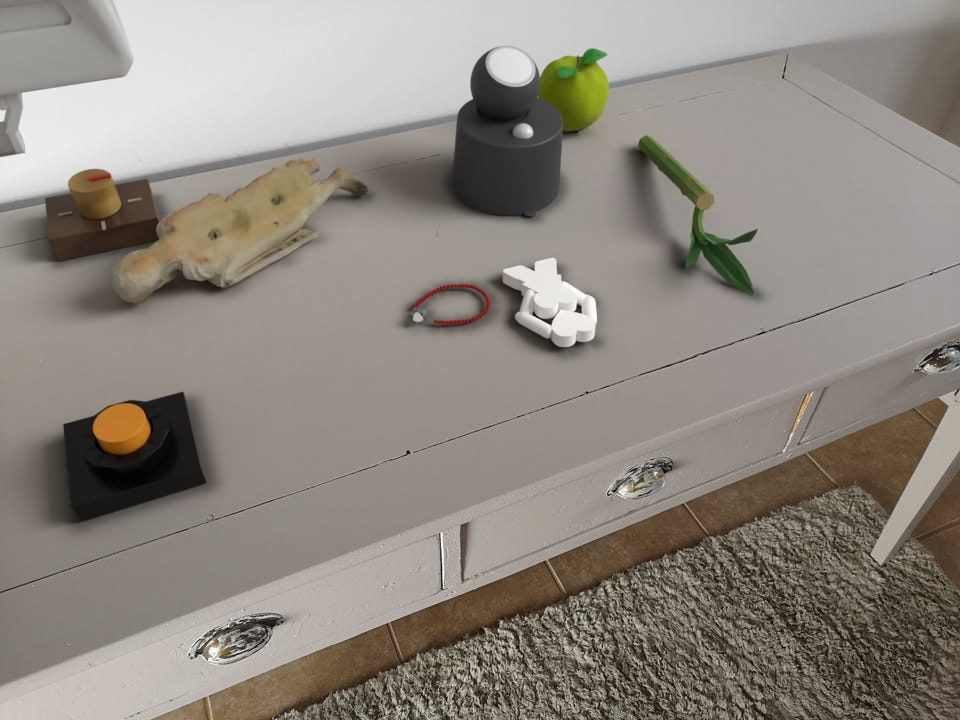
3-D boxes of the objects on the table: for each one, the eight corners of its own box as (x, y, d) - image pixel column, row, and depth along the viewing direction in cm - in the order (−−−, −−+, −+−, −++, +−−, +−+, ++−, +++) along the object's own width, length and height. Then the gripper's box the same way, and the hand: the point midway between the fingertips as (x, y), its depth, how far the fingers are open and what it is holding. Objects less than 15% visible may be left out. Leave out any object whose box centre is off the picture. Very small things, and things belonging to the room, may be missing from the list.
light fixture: (486, 103, 78) (435, 42, 87) (480, 230, 90) (436, 165, 99) (601, 81, 82) (541, 25, 91) (581, 206, 94) (530, 145, 103)
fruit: (616, 128, 107) (629, 58, 99) (568, 151, 102) (578, 79, 95) (569, 101, 111) (578, 32, 104) (521, 122, 107) (527, 51, 100)
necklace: (417, 335, 78) (417, 328, 77) (401, 297, 82) (400, 289, 81) (498, 317, 80) (498, 310, 79) (478, 280, 84) (479, 273, 83)
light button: (102, 461, 62) (95, 448, 61) (97, 424, 65) (90, 411, 63) (154, 446, 63) (148, 433, 62) (147, 410, 66) (141, 397, 65)
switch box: (80, 522, 62) (62, 495, 59) (71, 439, 68) (54, 410, 65) (207, 483, 65) (195, 455, 62) (189, 406, 71) (178, 377, 68)
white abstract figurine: (538, 355, 76) (539, 338, 75) (491, 288, 84) (491, 272, 83) (617, 333, 79) (620, 316, 77) (564, 270, 87) (565, 254, 86)
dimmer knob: (80, 222, 84) (67, 193, 81) (77, 199, 86) (65, 170, 84) (123, 214, 85) (112, 185, 82) (119, 192, 88) (109, 163, 85)
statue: (315, 150, 95) (104, 294, 82) (317, 109, 89) (89, 258, 75) (375, 204, 94) (171, 359, 80) (382, 167, 87) (161, 328, 74)
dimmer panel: (59, 263, 84) (48, 240, 81) (54, 218, 89) (43, 195, 87) (165, 240, 87) (157, 217, 84) (154, 198, 92) (146, 175, 90)
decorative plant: (675, 131, 102) (790, 231, 78) (658, 190, 107) (761, 302, 83) (632, 127, 101) (736, 227, 77) (616, 187, 105) (709, 299, 81)
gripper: (-344, -19, 38) (-180, 211, 49) (96, -64, 44) (160, 148, 55) (-315, -63, 42) (-168, 158, 52) (86, -99, 48) (148, 105, 58)
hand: (2, 153), depth 54 cm, fingers closed
